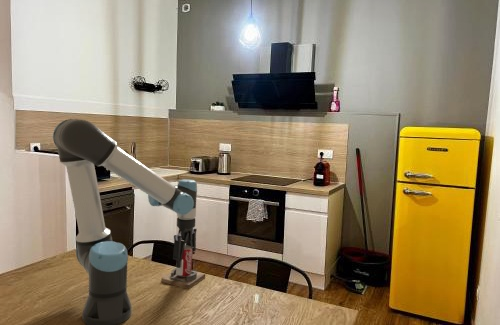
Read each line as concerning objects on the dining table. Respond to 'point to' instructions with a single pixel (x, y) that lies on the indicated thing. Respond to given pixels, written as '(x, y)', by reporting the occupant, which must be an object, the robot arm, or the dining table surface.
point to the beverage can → (187, 261)
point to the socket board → (183, 279)
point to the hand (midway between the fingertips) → (183, 271)
